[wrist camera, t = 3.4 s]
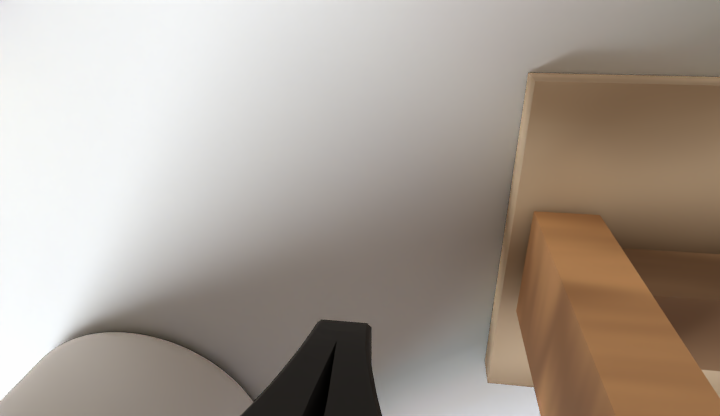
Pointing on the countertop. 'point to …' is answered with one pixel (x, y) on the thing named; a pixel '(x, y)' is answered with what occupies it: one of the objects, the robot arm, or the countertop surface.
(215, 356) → the countertop surface
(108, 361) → the cylinder vase
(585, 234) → the brown piece
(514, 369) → the base board
